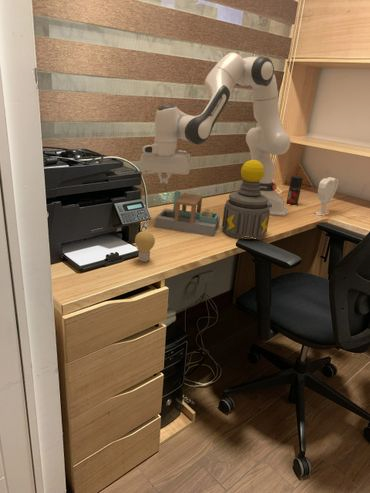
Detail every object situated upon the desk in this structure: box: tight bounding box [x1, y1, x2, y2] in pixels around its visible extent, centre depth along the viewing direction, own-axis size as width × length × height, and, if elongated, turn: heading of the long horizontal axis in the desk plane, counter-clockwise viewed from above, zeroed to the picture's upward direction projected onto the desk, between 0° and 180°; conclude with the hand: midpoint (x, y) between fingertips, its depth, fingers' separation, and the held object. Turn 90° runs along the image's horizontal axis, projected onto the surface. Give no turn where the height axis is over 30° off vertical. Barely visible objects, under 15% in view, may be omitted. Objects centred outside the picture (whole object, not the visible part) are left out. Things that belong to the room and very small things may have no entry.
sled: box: [172, 190, 219, 223], centre depth 155 cm, size 19×7×10 cm, turn 77°
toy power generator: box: [221, 159, 270, 240], centre depth 152 cm, size 19×19×30 cm
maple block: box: [201, 208, 214, 218], centre depth 155 cm, size 4×4×4 cm
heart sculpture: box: [315, 176, 339, 216], centre depth 191 cm, size 16×5×18 cm, turn 137°
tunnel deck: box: [154, 192, 221, 237], centre depth 157 cm, size 24×14×12 cm, turn 77°
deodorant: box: [286, 175, 304, 206], centre depth 202 cm, size 6×6×15 cm
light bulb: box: [134, 230, 156, 262], centre depth 123 cm, size 6×6×10 cm
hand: (164, 183), depth 155 cm, fingers closed
